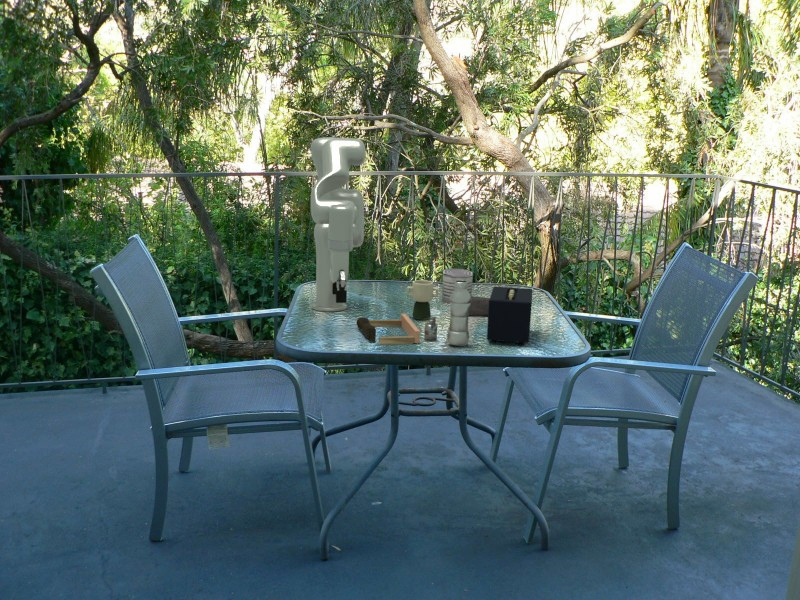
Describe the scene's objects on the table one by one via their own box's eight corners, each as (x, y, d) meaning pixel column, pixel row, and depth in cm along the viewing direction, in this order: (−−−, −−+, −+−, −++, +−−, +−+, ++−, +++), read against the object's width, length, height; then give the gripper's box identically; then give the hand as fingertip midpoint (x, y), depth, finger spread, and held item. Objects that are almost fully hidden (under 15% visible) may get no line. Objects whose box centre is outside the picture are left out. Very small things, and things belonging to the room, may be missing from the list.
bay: (367, 325, 277) (368, 320, 276) (400, 325, 279) (400, 319, 278) (379, 344, 255) (379, 338, 254) (414, 343, 257) (415, 337, 256)
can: (469, 299, 322) (470, 268, 319) (473, 306, 311) (475, 274, 308) (439, 298, 321) (441, 268, 319) (443, 305, 310) (444, 273, 308)
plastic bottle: (445, 342, 260) (448, 279, 255) (467, 342, 260) (470, 279, 256) (448, 347, 253) (451, 283, 249) (470, 348, 254) (473, 283, 250)
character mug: (437, 317, 292) (438, 280, 289) (437, 322, 285) (438, 284, 282) (406, 315, 292) (407, 279, 289) (405, 320, 285) (406, 283, 282)
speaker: (491, 327, 280) (493, 283, 276) (529, 330, 277) (532, 286, 274) (486, 344, 259) (489, 297, 255) (528, 347, 257) (531, 300, 253)
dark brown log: (356, 328, 274) (356, 315, 272) (368, 328, 274) (368, 314, 273) (364, 344, 255) (364, 330, 254) (377, 344, 256) (377, 329, 255)
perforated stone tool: (499, 314, 299) (500, 295, 298) (501, 317, 294) (502, 298, 293) (457, 313, 299) (458, 294, 297) (459, 316, 294) (460, 297, 292)
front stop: (400, 325, 279) (400, 313, 278) (405, 325, 279) (405, 313, 278) (414, 343, 257) (415, 331, 256) (419, 343, 257) (420, 331, 256)
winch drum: (422, 338, 264) (423, 312, 262) (435, 337, 264) (436, 312, 263) (427, 343, 258) (428, 317, 256) (439, 342, 259) (440, 317, 257)
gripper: (325, 239, 265) (324, 291, 270) (331, 250, 249) (330, 306, 253) (348, 239, 266) (347, 291, 271) (356, 250, 250) (354, 305, 255)
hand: (339, 298), depth 262 cm, fingers open, 9 cm apart
